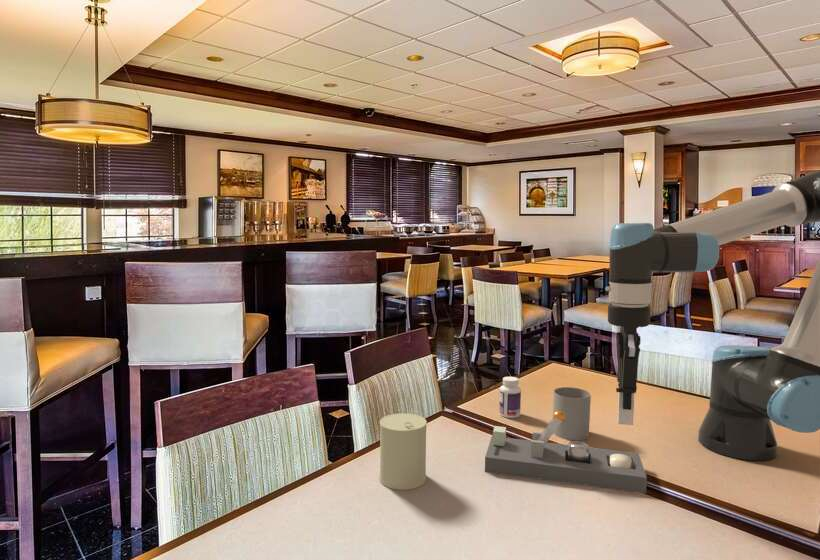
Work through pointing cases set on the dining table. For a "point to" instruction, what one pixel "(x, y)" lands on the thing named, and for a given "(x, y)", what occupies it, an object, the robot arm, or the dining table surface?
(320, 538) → the dining table surface
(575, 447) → the grey button
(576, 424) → the cup
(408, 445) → the can
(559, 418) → the lever
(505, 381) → the pill bottle
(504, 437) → the slider
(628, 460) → the ivory button
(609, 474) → the panel
